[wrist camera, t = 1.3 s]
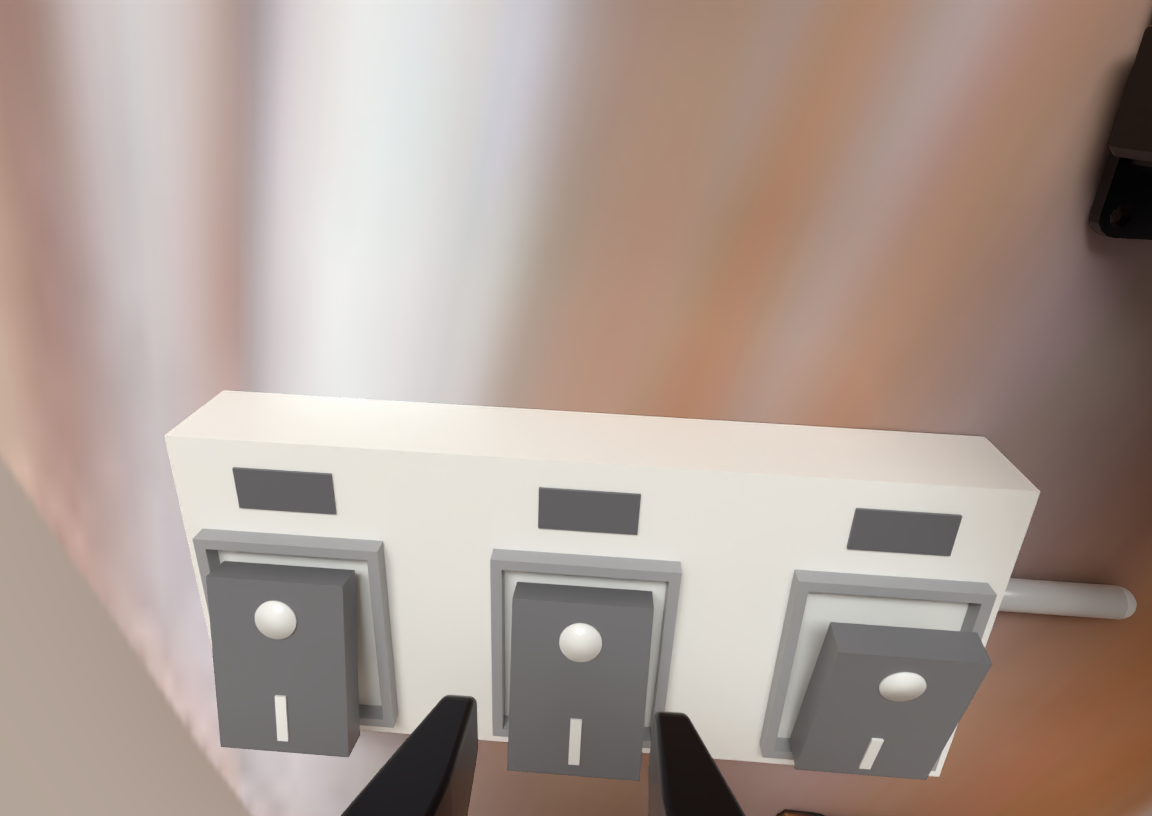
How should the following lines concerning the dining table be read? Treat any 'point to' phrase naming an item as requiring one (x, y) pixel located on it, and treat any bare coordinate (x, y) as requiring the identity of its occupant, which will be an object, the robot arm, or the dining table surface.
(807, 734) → the rocker
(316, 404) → the power strip
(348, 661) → the rocker
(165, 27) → the dining table surface
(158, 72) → the dining table surface
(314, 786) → the dining table surface
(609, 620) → the rocker middle
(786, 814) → the sunglasses case
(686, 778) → the robot arm
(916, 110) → the dining table surface
